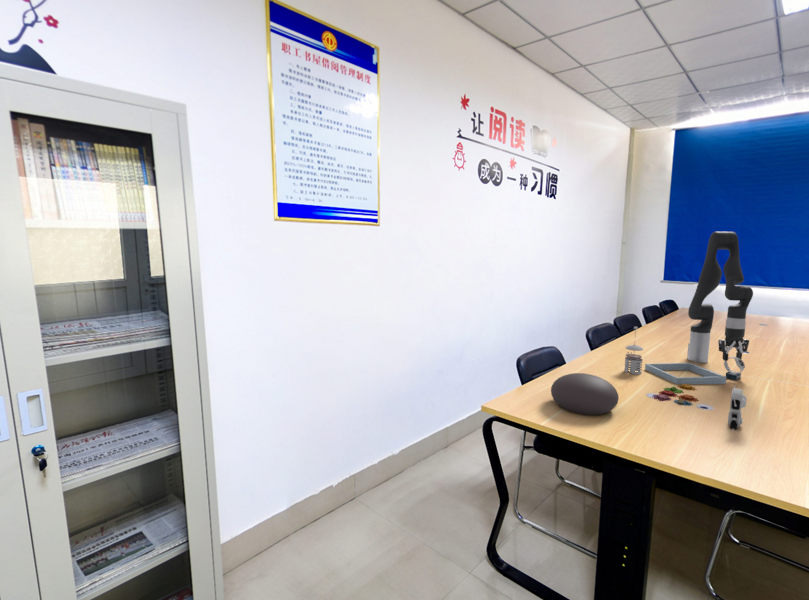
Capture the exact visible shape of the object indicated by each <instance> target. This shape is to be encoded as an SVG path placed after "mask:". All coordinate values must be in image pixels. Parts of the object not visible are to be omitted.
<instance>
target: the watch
mask: <svg viewBox="0 0 809 600" xmlns="http://www.w3.org/2000/svg"><path fill="white" fill-rule="evenodd" d="M729 359H734V361H735V365H736V366H737V367H738V368H739V369H740V371H733V370H731V368H730V367H729V364H728V361H725V360H723V367H724V368H725V370H726V371H727V372H725V377H726V380H732V381H739V380H741V377H742V376H741V375H742V372H744V369H745V368H746V366H745V362H744V361H743V360H742V359H740V358H737V357H736V356H728V360H729Z"/></svg>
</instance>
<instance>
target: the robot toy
mask: <svg viewBox="0 0 809 600" xmlns="http://www.w3.org/2000/svg"><path fill="white" fill-rule="evenodd" d="M730 396H731V397H730V404H729V411H728V417H727V424H728V425H729V428H730V429H731V431H735V430H737V429H738V428H739V427H740V426H741V425H743V421H744V420H743V417H742V415H743V413H742V409H743V408H745V407H746V406H747V400H748V398H747V396H746V395H745V394H744V390H743V389H741V388H737V386H736V385H734V388H732V389H731V395H730Z"/></svg>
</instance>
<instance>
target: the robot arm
mask: <svg viewBox="0 0 809 600" xmlns="http://www.w3.org/2000/svg"><path fill="white" fill-rule="evenodd" d="M718 250H722V251H723V250H727V251H728V252H729V256H728V257H727V260H726V262H725V263H724V266H723V268H721V266H720V264H719V262H718V259H717V254H718V253H717V252H718ZM722 269H723V271H722ZM723 275H724V278H725V290H724V296H725V298H726V299H727V300H729V301H739V302H738V303H736V304H733V305H729V306H727V307H728V308H727V314H726V319H725V328H724V336H725V337H724V339H718V341H717V342H718V351H719V352H721V353H722V360H723V361H727V362H728V360H729V359H728V358H729V355H730V354H729V353H730V351H731V350H732V349H735V351H736V354H735V357H737V358H740V359H741V360H742V359H743V354H744V353H746V352H748V348H749V346H750V345H749V344H750V340H749V339H746V338H744V337H745V331H746V323H747V322H746V321H747V320H746V317H747V316H746V315H747V310H748V308H749V305H750V303H751V301H752V300H753V296H754V290H753V289H752V287H751V286H747V285H740V284H742V283H744V281H745V278H744V274H743V269H742V266H741V260H740V244H739V237H738V235H737V233H736V232H735V231H714V232H712V233H711V234H710V237H709V239H708V244H707V249H706V254H705V257H704V262H703V266H702V269H701V272H700V275H699V279H698V283H697V286H696V288H695V291H694V295H693V297H692V300H691V302H690V305H689V307H688V317H689V318H690V319H691V320H696V321H700V322H698V323H696V324H693V325H691V326H690V334H689V342H688V343H687V344H688V346H687V357H686V359H687V360H688V361H690V362H694V363H701V364H702V363H704V364H706V363H708V362H709V356H710V355H709V353H710V351H709V350H710V343H711V342H710V340H711V332H712V329H713V323H714V314H715V310H714V306H713V305H712V304H711V303H704V301H705V299H706V298H707V297H708V296H709V295H710V294H711V293H712V292H714V291H715V290H716V289H717V288H718V286H719V285H720V283H721V279H722V276H723Z"/></svg>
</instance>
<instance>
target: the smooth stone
mask: <svg viewBox="0 0 809 600" xmlns="http://www.w3.org/2000/svg"><path fill="white" fill-rule="evenodd" d="M550 392H551V393H550V394H551V397H552V399H553V400H554V401H555V403H556V404H557V405H559V406H560V407H561V408H563V409H564V410H566V411H569V412H572V413H573V414H574V413H575V414H578V415H579V414H580V415H586V416H599V415H604V414H607V413H609V412H611V411H612V410H614V408H616V407H617V404H618V403H619V393H618V391H617V389H616V387H614V385H612V383H611V382H609V381H607V380H606V379H605V378H602V377H600V376H597V375H593V374H589V373H583V372H577V373H576V372H575V373H569V374H564V375H562V376H560V377H558V378H557V379H555V380H554V382H553V383H552V385H551V387H550Z"/></svg>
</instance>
